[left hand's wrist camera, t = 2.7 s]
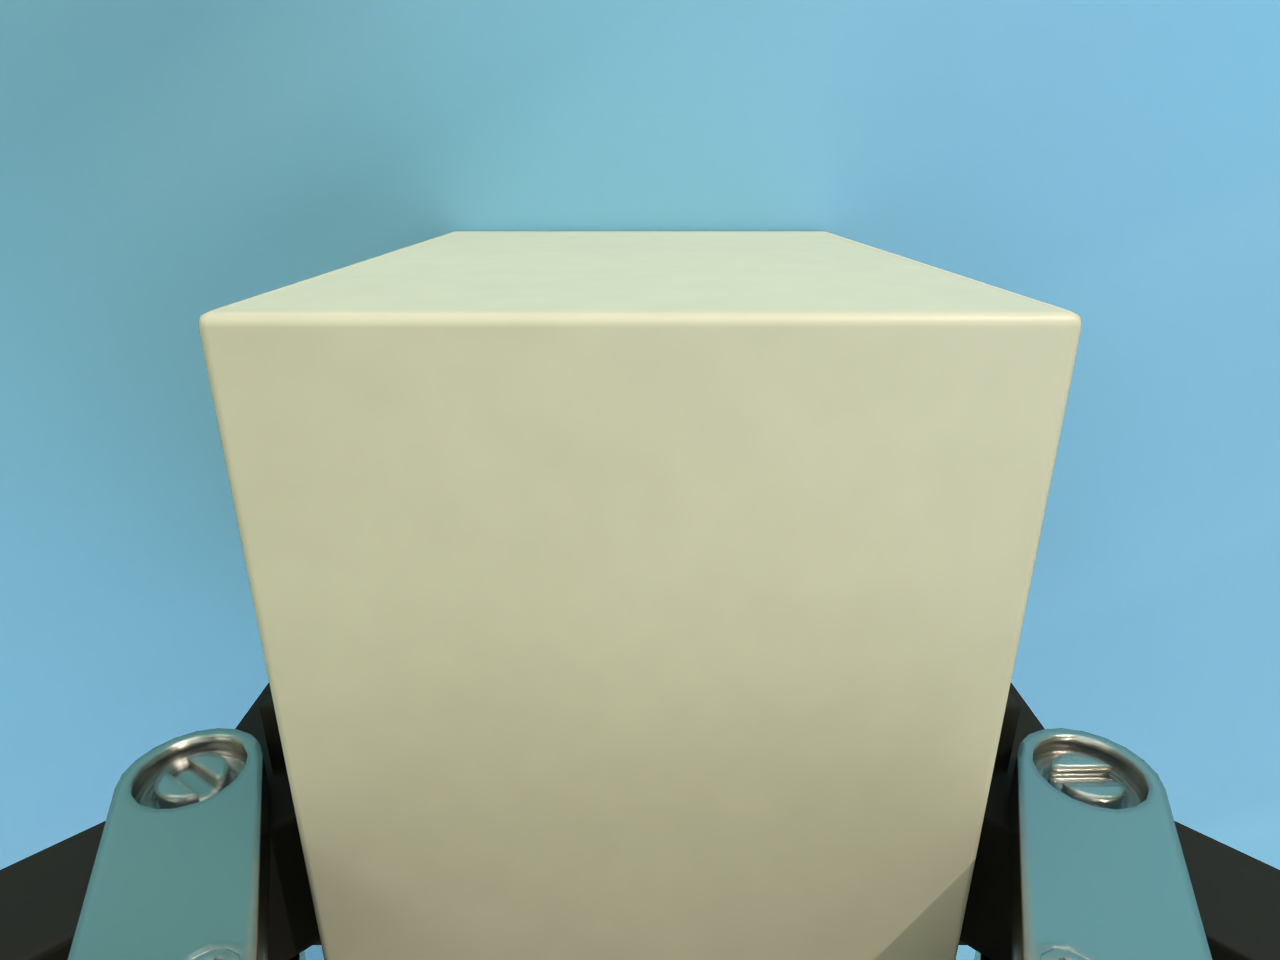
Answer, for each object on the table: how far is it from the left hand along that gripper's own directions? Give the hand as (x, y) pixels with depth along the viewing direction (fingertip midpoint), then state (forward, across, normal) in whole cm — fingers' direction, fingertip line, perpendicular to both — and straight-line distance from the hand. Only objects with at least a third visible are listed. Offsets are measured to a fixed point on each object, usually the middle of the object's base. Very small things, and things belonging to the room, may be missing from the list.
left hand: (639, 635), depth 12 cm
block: (+3, 0, -24) cm, 24 cm away
